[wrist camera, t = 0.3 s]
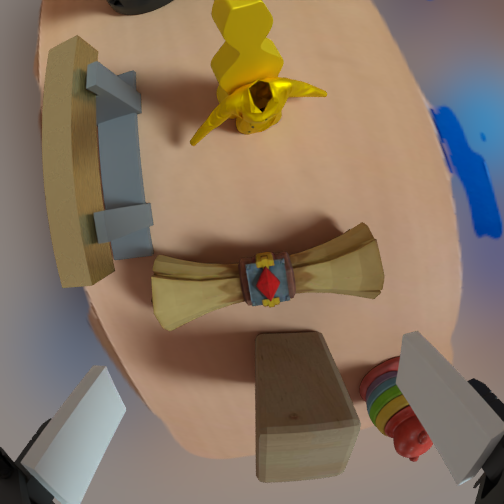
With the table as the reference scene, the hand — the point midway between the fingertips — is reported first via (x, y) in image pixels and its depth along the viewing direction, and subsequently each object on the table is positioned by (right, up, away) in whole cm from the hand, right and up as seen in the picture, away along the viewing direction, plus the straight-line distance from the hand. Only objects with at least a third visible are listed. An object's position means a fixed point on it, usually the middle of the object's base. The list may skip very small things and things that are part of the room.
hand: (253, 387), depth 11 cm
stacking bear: (+23, -17, +32) cm, 43 cm away
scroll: (+2, +4, +28) cm, 28 cm away
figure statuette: (0, +24, +23) cm, 33 cm away
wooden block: (+5, -11, +31) cm, 33 cm away
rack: (-18, +18, +24) cm, 35 cm away
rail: (-18, +16, +14) cm, 28 cm away
